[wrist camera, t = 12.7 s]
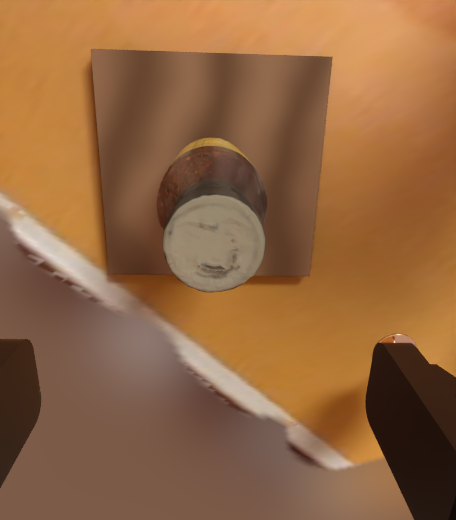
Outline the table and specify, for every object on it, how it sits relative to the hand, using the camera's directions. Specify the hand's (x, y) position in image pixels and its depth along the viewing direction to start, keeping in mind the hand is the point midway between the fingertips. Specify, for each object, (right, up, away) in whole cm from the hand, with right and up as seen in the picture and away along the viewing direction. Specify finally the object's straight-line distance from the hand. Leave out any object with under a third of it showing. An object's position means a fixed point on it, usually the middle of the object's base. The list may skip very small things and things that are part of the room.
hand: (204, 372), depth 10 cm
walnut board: (-1, +10, +26) cm, 28 cm away
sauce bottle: (-1, +10, +25) cm, 27 cm away
